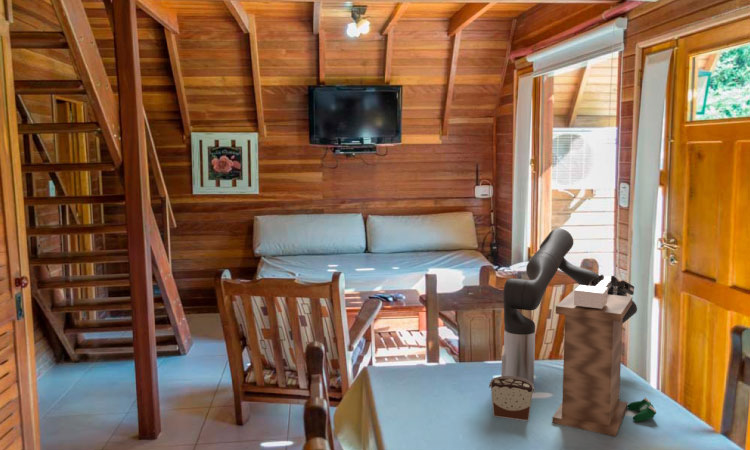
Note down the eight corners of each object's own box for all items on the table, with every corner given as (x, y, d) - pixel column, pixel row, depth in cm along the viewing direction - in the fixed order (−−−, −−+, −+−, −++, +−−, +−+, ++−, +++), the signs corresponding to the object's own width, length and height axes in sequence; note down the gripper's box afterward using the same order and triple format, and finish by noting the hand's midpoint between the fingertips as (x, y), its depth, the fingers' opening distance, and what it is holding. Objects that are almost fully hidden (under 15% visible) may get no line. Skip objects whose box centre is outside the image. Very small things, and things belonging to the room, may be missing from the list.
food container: (536, 412, 169) (537, 378, 168) (534, 421, 164) (535, 386, 162) (491, 406, 173) (492, 373, 172) (488, 415, 168) (488, 380, 166)
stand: (552, 422, 163) (555, 306, 159) (569, 396, 180) (573, 290, 176) (615, 436, 155) (621, 314, 151) (627, 407, 172) (632, 297, 168)
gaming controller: (642, 429, 163) (660, 416, 161) (632, 419, 163) (650, 405, 162) (634, 415, 172) (651, 402, 170) (625, 405, 172) (642, 392, 171)
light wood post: (573, 305, 157) (574, 290, 157) (597, 282, 184) (597, 269, 184) (602, 308, 154) (602, 293, 153) (621, 284, 181) (622, 271, 180)
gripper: (592, 282, 196) (583, 264, 182) (639, 287, 189) (633, 268, 175) (589, 305, 194) (580, 287, 180) (636, 310, 187) (631, 293, 173)
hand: (606, 278), depth 178 cm, fingers closed on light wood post, 2 cm apart
